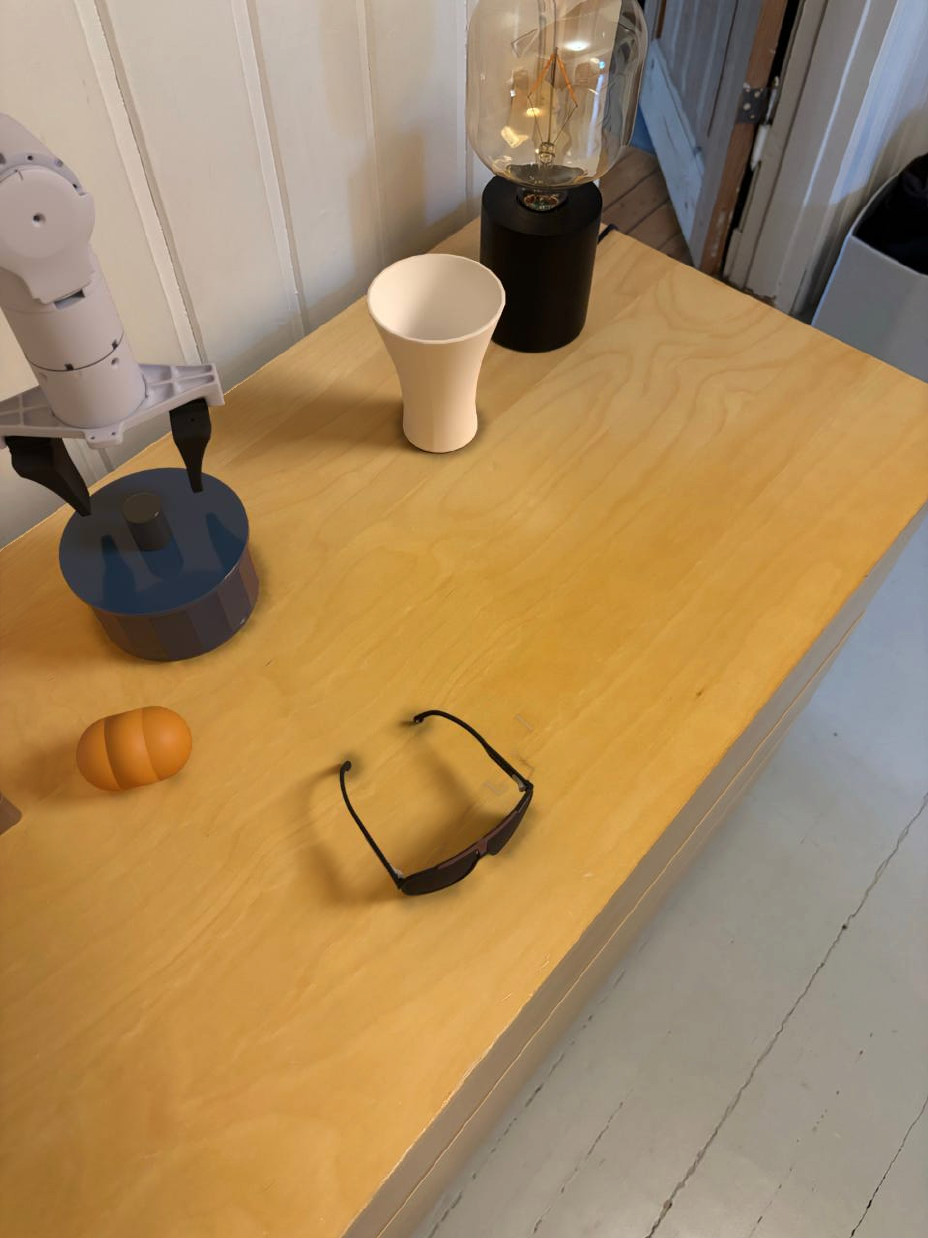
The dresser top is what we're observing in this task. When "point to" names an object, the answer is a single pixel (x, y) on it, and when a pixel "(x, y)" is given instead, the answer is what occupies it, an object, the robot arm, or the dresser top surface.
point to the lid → (154, 544)
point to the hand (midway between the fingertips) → (141, 493)
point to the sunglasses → (468, 858)
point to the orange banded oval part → (133, 748)
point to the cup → (437, 341)
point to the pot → (189, 621)
